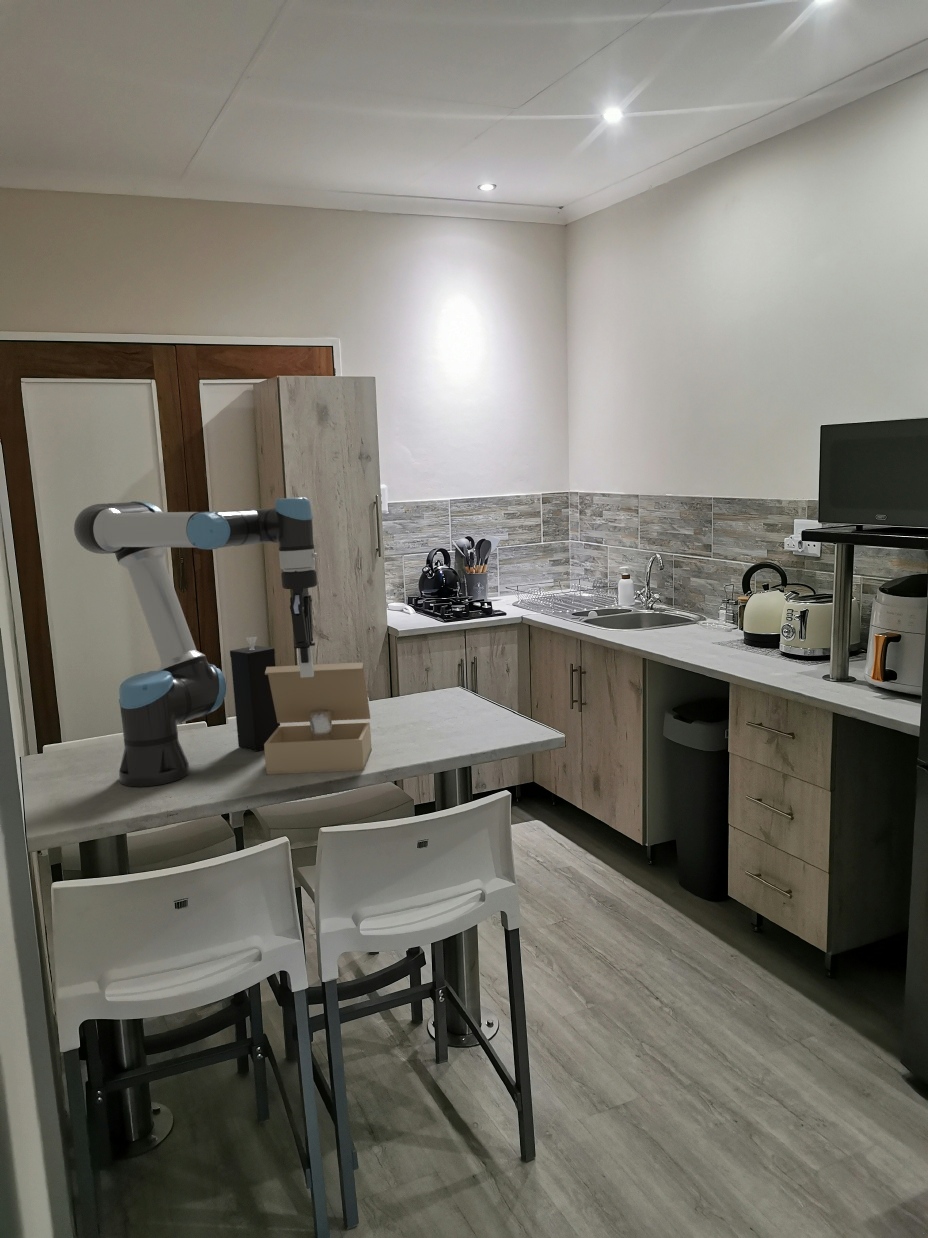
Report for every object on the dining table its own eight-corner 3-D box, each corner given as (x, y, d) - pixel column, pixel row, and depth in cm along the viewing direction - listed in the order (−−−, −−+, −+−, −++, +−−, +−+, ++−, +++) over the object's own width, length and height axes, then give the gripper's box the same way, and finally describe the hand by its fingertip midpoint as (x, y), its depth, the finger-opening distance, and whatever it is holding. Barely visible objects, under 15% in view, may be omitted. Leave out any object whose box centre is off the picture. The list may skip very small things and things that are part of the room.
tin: (310, 758, 216) (307, 715, 215) (314, 752, 221) (311, 710, 220) (332, 757, 216) (329, 714, 215) (335, 751, 221) (332, 709, 219)
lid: (264, 672, 211) (266, 666, 214) (276, 728, 220) (278, 721, 222) (362, 668, 211) (363, 661, 213) (369, 724, 220) (370, 717, 222)
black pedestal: (282, 744, 231) (273, 635, 228) (256, 752, 226) (246, 639, 222) (264, 740, 237) (255, 632, 233) (238, 747, 231) (228, 637, 227)
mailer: (266, 774, 207) (264, 744, 206) (281, 754, 223) (279, 725, 222) (363, 769, 207) (361, 739, 206) (371, 749, 223) (369, 721, 222)
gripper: (310, 571, 192) (319, 681, 195) (320, 566, 205) (328, 670, 208) (274, 573, 192) (284, 683, 196) (287, 568, 205) (295, 671, 209)
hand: (307, 676), depth 202 cm, fingers closed
